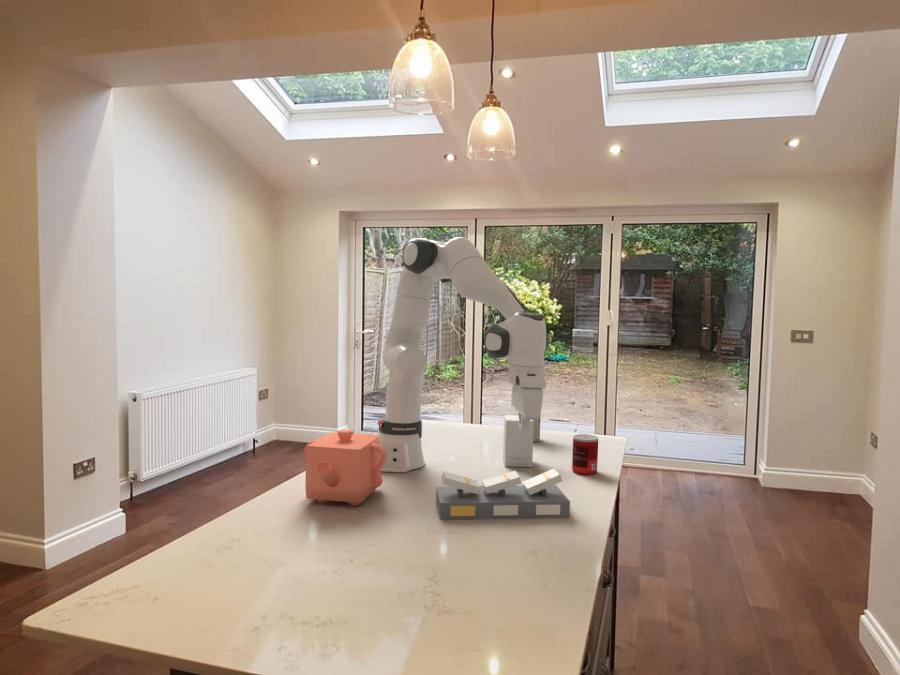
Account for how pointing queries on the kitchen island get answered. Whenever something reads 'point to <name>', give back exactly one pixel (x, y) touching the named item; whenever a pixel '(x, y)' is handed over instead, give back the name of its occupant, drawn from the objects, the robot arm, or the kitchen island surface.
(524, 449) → the supplement box
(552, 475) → the block
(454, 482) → the rocker
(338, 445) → the teapot
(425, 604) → the kitchen island surface
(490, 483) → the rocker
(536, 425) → the travel mug
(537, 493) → the console
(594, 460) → the canned food
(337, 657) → the kitchen island surface
